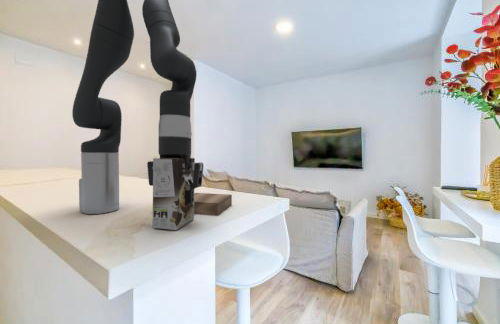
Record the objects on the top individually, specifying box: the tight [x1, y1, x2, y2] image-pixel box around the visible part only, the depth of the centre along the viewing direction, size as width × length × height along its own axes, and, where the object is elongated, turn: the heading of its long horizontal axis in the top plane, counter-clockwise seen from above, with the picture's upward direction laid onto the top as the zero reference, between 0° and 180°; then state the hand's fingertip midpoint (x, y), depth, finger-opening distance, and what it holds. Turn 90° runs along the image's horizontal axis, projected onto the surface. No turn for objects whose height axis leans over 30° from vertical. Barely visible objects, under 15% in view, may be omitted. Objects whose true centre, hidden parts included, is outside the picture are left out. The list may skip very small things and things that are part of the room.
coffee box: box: [152, 157, 196, 231], centre depth 54 cm, size 9×6×16 cm
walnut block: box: [194, 192, 233, 217], centre depth 70 cm, size 13×13×4 cm
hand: (175, 204), depth 54 cm, fingers closed on coffee box, 6 cm apart
